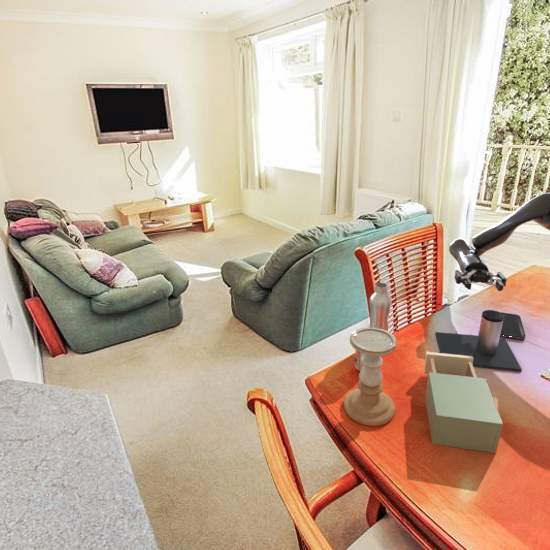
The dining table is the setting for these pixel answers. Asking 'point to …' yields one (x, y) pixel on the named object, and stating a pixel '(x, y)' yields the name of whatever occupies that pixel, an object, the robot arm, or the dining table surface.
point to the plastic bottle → (380, 307)
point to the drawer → (449, 364)
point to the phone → (512, 326)
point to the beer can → (358, 360)
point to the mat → (467, 347)
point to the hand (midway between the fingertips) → (485, 287)
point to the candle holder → (371, 378)
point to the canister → (489, 332)
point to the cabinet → (462, 412)
